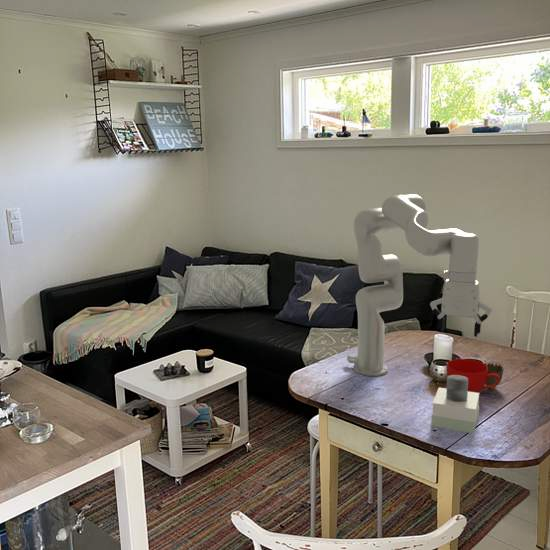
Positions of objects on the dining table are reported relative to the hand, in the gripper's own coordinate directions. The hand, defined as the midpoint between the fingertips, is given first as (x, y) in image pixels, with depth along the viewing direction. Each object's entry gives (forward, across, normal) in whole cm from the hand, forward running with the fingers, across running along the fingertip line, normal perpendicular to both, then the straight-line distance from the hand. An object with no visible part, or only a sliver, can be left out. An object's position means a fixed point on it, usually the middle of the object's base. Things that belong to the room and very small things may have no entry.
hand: (458, 333), depth 175 cm
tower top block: (+24, +1, -1) cm, 24 cm away
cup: (+28, +8, +28) cm, 40 cm away
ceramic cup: (+28, +2, +20) cm, 34 cm away
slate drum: (+20, +1, -1) cm, 20 cm away
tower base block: (+28, +1, -1) cm, 28 cm away
